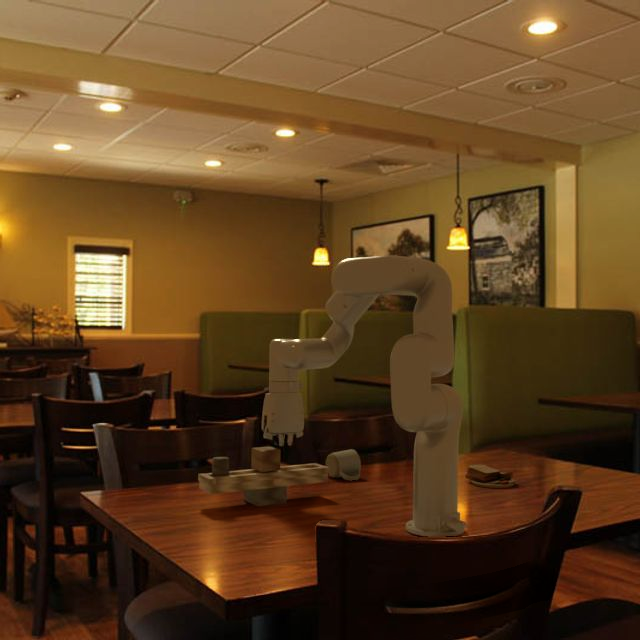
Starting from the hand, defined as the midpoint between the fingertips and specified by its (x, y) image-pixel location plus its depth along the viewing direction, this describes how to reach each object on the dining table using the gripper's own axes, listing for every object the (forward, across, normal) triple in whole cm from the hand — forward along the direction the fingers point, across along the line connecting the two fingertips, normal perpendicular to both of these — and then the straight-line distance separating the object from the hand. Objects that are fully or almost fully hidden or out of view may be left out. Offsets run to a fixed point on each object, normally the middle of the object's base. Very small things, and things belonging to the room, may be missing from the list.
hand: (283, 460), depth 204 cm
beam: (+10, +5, 0) cm, 11 cm away
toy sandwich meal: (+10, -60, +9) cm, 62 cm away
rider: (+3, +5, 0) cm, 6 cm away
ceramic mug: (+10, -29, -16) cm, 35 cm away
